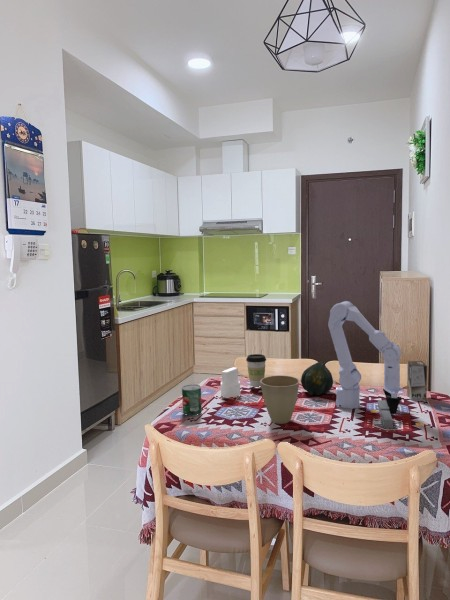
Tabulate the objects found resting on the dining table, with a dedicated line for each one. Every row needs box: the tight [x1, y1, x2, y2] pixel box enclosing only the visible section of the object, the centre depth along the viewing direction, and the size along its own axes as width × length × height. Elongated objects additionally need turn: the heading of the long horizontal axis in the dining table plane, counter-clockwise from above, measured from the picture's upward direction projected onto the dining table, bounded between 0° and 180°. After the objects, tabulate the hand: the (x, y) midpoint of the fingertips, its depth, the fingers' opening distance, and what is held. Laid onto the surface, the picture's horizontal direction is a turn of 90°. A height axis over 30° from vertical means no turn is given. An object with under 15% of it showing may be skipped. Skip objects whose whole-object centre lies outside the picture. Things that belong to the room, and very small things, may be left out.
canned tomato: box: [181, 384, 203, 416], centre depth 190 cm, size 8×8×11 cm
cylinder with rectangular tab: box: [220, 366, 241, 398], centre depth 211 cm, size 9×9×12 cm
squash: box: [300, 361, 334, 396], centre depth 211 cm, size 14×15×15 cm
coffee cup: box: [245, 353, 267, 387], centre depth 224 cm, size 10×10×15 cm
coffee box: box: [406, 360, 428, 402], centre depth 195 cm, size 9×6×16 cm
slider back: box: [377, 399, 390, 416], centre depth 180 cm, size 3×10×3 cm, turn 167°
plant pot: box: [260, 374, 300, 425], centre depth 177 cm, size 15×15×16 cm
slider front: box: [380, 410, 394, 429], centre depth 168 cm, size 3×10×3 cm, turn 167°
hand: (391, 410), depth 179 cm, fingers open, 7 cm apart
